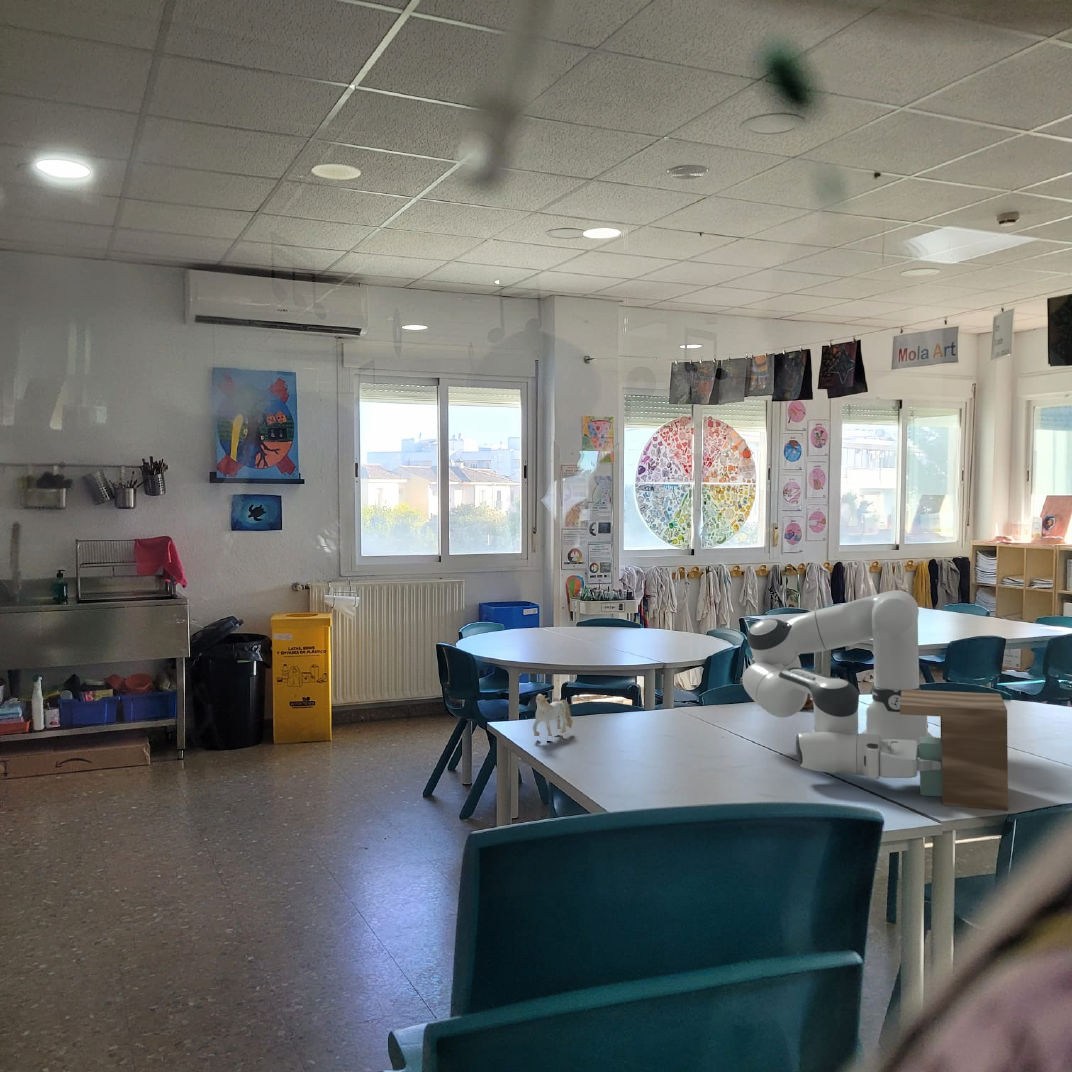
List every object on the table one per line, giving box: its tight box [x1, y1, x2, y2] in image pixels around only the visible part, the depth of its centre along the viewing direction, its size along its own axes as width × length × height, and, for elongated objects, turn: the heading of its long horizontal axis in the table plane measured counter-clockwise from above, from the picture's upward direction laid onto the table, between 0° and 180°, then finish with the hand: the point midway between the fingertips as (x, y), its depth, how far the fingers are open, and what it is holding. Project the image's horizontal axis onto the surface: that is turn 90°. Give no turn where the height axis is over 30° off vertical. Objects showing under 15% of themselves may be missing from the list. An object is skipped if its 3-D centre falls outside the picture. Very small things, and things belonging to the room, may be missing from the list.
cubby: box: [900, 689, 1009, 811], centre depth 209 cm, size 19×20×20 cm
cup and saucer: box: [801, 693, 814, 710], centre depth 306 cm, size 12×12×6 cm
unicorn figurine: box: [532, 693, 574, 737], centre depth 265 cm, size 7×20×13 cm, turn 159°
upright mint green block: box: [919, 736, 943, 798], centre depth 210 cm, size 6×6×11 cm
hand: (940, 759), depth 210 cm, fingers open, 8 cm apart
